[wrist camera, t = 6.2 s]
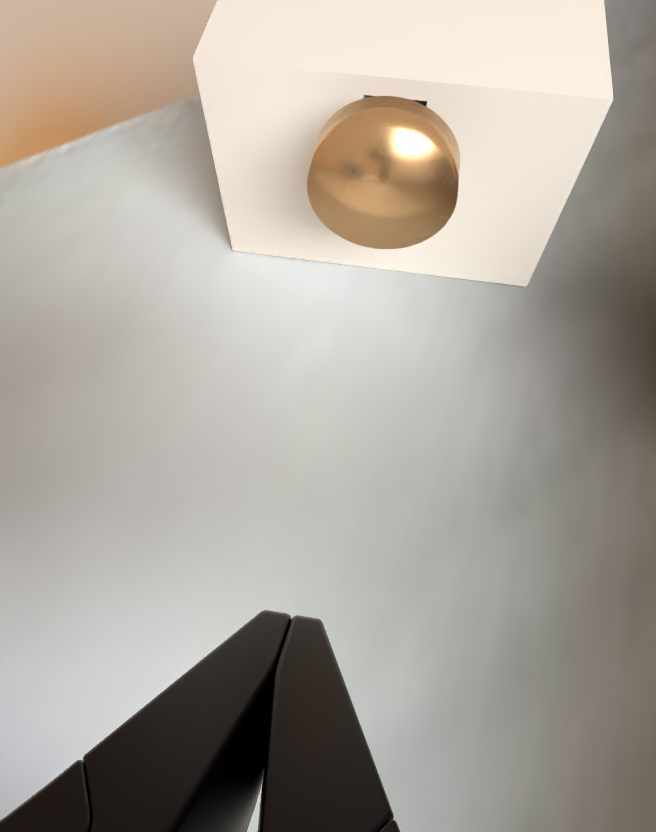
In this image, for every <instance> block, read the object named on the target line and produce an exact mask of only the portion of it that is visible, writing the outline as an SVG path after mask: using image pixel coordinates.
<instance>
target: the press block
mask: <svg viewBox="0 0 656 832" xmlns="http://www.w3.org/2000/svg"><path fill="white" fill-rule="evenodd" d="M193 63H194V67H195V72H196V77H197V82H198V87H199V92H200V97H201V101H202V106H203V111H204V116H205V121H206V125H207V130H208V135H209V140H210V145H211V149H212V154H213V159H214V164H215V169H216V173H217V178H218V183H219V188H220V193H221V197H222V202H223V207H224V212H225V217H226V222H227V226H228V231H229V236H230V241H231V246H232V250H233V251H238V252H246V253H254V254H263V255H271V256H279V257H287V258H296V259H304V260H312V261H320V262H328V263H337V264H345V265H353V266H361V267H369V268H378V269H386V270H394V271H402V272H410V273H419V274H427V275H435V276H443V277H451V278H460V279H468V280H476V281H484V282H492V283H501V284H509V285H517V286H525V287H527V285H528V283H529V281H530V278H531V276H532V274H533V272H534V270H535V268H536V266H537V263H538V261H539V259H540V257H541V255H542V253H543V250H544V248H545V246H546V244H547V242H548V240H549V237H550V235H551V233H552V231H553V229H554V227H555V224H556V222H557V220H558V218H559V216H560V214H561V211H562V209H563V207H564V205H565V203H566V201H567V198H568V196H569V194H570V192H571V190H572V188H573V185H574V183H575V181H576V179H577V177H578V175H579V173H580V170H581V168H582V166H583V164H584V162H585V160H586V157H587V155H588V153H589V151H590V149H591V147H592V144H593V142H594V140H595V138H596V136H597V134H598V131H599V129H600V127H601V125H602V123H603V121H604V118H605V116H606V114H607V112H608V110H609V108H610V105H611V103H612V101H613V91H612V80H611V70H610V59H609V49H608V38H607V28H606V17H605V7H604V0H217V2H216V5H215V7H214V10H213V12H212V14H211V16H210V19H209V21H208V23H207V26H206V28H205V30H204V33H203V35H202V37H201V40H200V42H199V44H198V47H197V49H196V51H195V54H194V56H193ZM373 96H395V97H402V98H406V99H410V100H418V103H420V104H422V105H424V106H426V107H428V108H429V109H431V110H432V111H434V112H435V113H436V114H437V115H439V116H440V117H441V118H442V119H443V120H444V121H445V122H446V123H447V125H448V126H449V127H450V129H451V130H452V132H453V134H454V136H455V138H456V140H457V143H458V146H459V151H460V174H459V186H458V197H457V203H456V207H455V210H454V212H453V214H452V216H451V218H450V219H449V221H448V222H447V223H446V225H445V226H444V227H443V228H442V229H441V230H440V231H439V232H438V233H436V234H435V235H434V236H432V237H431V238H429V239H427V240H425V241H423V242H421V243H419V244H416V245H413V246H409V247H405V248H399V249H374V248H368V247H364V246H360V245H357V244H354V243H352V242H349V241H347V240H345V239H343V238H341V237H340V236H338V235H336V234H335V233H333V232H332V231H331V230H330V229H328V228H327V227H326V226H325V225H324V224H323V223H322V222H321V220H320V219H319V218H318V217H317V215H316V213H315V212H314V210H313V208H312V206H311V204H310V201H309V197H308V192H307V178H308V173H309V169H310V165H311V160H312V156H313V152H314V148H315V144H316V140H317V138H318V135H319V133H320V131H321V129H322V127H323V126H324V124H325V123H326V122H327V120H328V119H329V118H330V117H331V116H332V115H333V114H334V113H335V112H337V111H338V110H340V109H341V108H342V107H344V106H346V105H348V104H350V103H352V102H354V101H357V100H360V99H363V98H368V97H373Z"/></svg>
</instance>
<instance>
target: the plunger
mask: <svg viewBox="0 0 656 832" xmlns="http://www.w3.org/2000/svg"><path fill="white" fill-rule="evenodd" d="M459 174H460V151H459V146H458V143H457V140H456V138H455V136H454V134H453V132H452V130H451V129H450V127H449V126H448V125H447V123H446V122H445V121H444V120H443V119H442V118H441V117H440V116H439V115H437V114H436V113H435V112H434V111H432V110H431V109H429V108H428V107H426V106H424V105H422V104H420V103H418V100H410V99H406V98H402V97H395V96H373V97H368V98H363V99H360V100H357V101H354V102H352V103H350V104H348V105H346V106H344V107H342V108H341V109H340V110H338V111H337V112H335V113H334V114H333V115H332V116H331V117H330V118H329V119H328V120H327V122H326V123H325V124H324V126H323V127H322V129H321V131H320V133H319V135H318V138H317V140H316V144H315V148H314V152H313V156H312V160H311V165H310V169H309V173H308V178H307V192H308V197H309V201H310V204H311V206H312V208H313V210H314V212H315V213H316V215H317V217H318V218H319V219H320V220H321V222H322V223H323V224H324V225H325V226H326V227H327V228H328V229H330V230H331V231H332V232H333V233H335V234H336V235H338V236H340V237H341V238H343V239H345V240H347V241H349V242H352V243H354V244H357V245H360V246H364V247H368V248H374V249H399V248H405V247H409V246H413V245H416V244H419V243H421V242H423V241H425V240H427V239H429V238H431V237H432V236H434V235H435V234H436V233H438V232H439V231H440V230H441V229H442V228H443V227H444V226H445V225H446V223H447V222H448V221H449V219H450V218H451V216H452V214H453V212H454V210H455V207H456V203H457V197H458V186H459Z"/></svg>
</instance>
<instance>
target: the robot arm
mask: <svg viewBox="0 0 656 832" xmlns="http://www.w3.org/2000/svg"><path fill="white" fill-rule="evenodd" d="M262 781H263V783H262ZM261 785H262V793H261V802H260V813H259V823H258V832H400V830H399V828H398V825H397V823H396V821H395V820H393V817H394V816H393V812H392V810H391V807H390V804H389V801H388V799H387V796H386V793H385V791H384V788H383V785H382V782H381V780H380V777H379V774H378V772H377V769H376V766H375V764H374V761H373V758H372V755H371V753H370V750H369V747H368V745H367V742H366V739H365V736H364V734H363V731H362V728H361V726H360V723H359V720H358V718H357V715H356V712H355V709H354V707H353V704H352V701H351V699H350V696H349V693H348V690H347V688H346V685H345V682H344V680H343V677H342V674H341V672H340V669H339V666H338V663H337V661H336V658H335V655H334V653H333V650H332V647H331V644H330V642H329V639H328V636H327V634H326V631H325V628H324V626H323V623H322V621H321V620H319V619H316V618H310V617H304V616H294V617H293V618H292V619H291V616H290V615H289V614H286V613H280V612H274V611H268V610H264V611H262V612H260V613H259V614H258V615H257V616H255V617H254V618H253V619H252V620H250V621H249V622H248V623H247V624H245V625H244V626H243V627H242V628H240V629H239V630H238V631H237V632H236V633H234V634H233V635H232V636H231V637H229V638H228V639H227V640H226V641H224V642H223V643H222V644H221V645H220V646H218V647H217V648H216V649H215V650H213V651H212V652H211V653H210V654H208V655H207V656H206V657H205V658H204V659H202V660H201V661H200V662H199V663H197V664H196V665H195V666H194V667H192V668H191V669H190V670H189V671H188V672H186V673H185V674H184V675H183V676H181V677H180V678H179V679H178V680H176V681H175V682H174V683H173V684H172V685H170V686H169V687H168V688H167V689H165V690H164V691H163V692H162V693H160V694H159V695H158V696H157V697H155V698H154V699H153V700H152V701H151V702H149V703H148V704H147V705H146V706H144V707H143V708H142V709H141V710H139V711H138V712H137V713H136V714H135V715H133V716H132V717H131V718H130V719H128V720H127V721H126V722H125V723H123V724H122V725H121V726H120V727H119V728H117V729H116V730H115V731H114V732H112V733H111V734H110V735H109V736H107V737H106V738H105V739H104V740H103V741H101V742H100V743H99V744H98V745H96V746H95V747H94V748H93V749H91V750H90V751H89V752H88V753H87V754H85V755H84V757H83V761H82V760H78V761H76V762H75V763H74V764H73V765H71V766H70V767H69V768H68V769H66V770H65V771H64V772H63V773H61V774H60V775H59V776H58V777H57V778H55V779H54V780H53V781H52V782H50V783H49V784H48V785H46V786H45V787H44V788H43V789H41V790H40V791H39V792H37V793H36V794H35V795H33V796H32V797H31V798H30V799H28V800H27V801H26V802H24V803H23V804H22V805H21V806H19V807H18V808H17V809H15V810H14V811H13V812H11V813H10V814H9V815H8V816H6V817H5V818H3V819H2V820H1V821H0V832H247V829H248V826H249V823H250V820H251V817H252V814H253V811H254V808H255V805H256V802H257V798H258V795H259V792H260V789H261Z"/></svg>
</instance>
